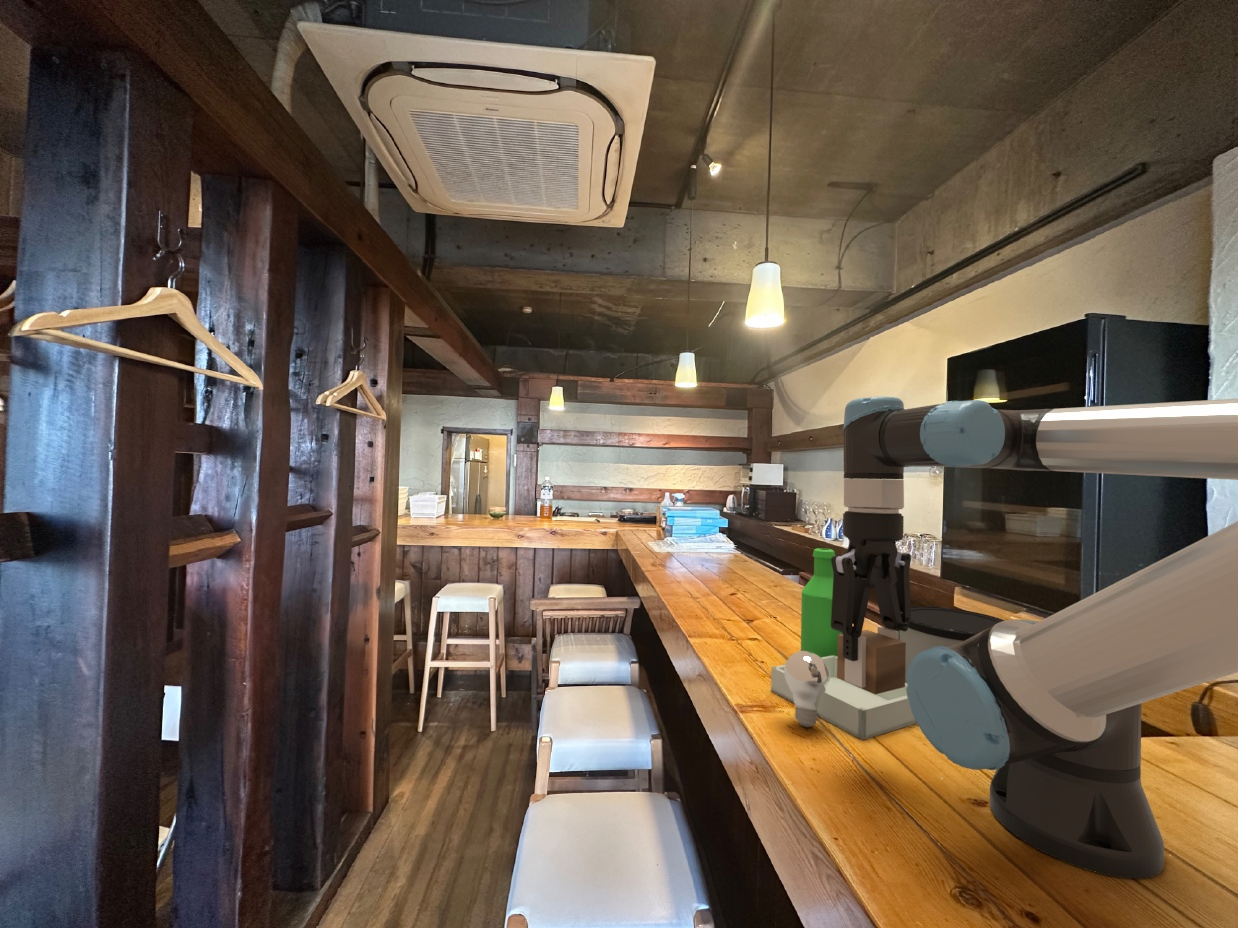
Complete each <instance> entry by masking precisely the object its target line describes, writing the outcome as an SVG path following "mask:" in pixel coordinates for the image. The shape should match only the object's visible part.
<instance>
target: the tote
mask: <svg viewBox="0 0 1238 928" xmlns="http://www.w3.org/2000/svg"><path fill="white" fill-rule="evenodd" d="M821 658H822V659H823V661H824V662H825V663H826V665H827V667H828V670H829V673H830V681H829V685H828V688H827V689H826V691H825V692H824V694H823V695H822V697H821V699H820V702H819V706H818V708H817V717H818V718H820V719H822V720H824V721H826V722H828V723H829V724H831V725H833V726H836V727H837V728H839V729H841V730H842V731H844V732H846V733H848V734H850V735H852V736H853V737H856V738H857V739H859V740H861V741H865V740H867V739H871V738H874V737H877V736H881V735H884V734H886V733H889V732H894V731H896V730H900V729H902V728H907V727H909V726H914V725H916V724H917V722H916V720H915V718H914V716H913V714H912V711H911V708H910V705H909V702H908V698H907V692H906V688H907V687H908V685H907V683H905V687H903V688H899V689H895V690H891V691H887V692H883V693H880V694H876V695H875V694H873V693H871V692H868V691H866V690H864V689H862V688H859V687H857V686H855V685H852V684H850V683H848V682H846V681H843V680H841V679H839V678H837V656H835V655H832V656H827V657H821ZM784 668H785V664H781V665H776V666H772V667H771V671H770V672H771V673H770V674H771V675H770V676H771V680H770V682H771V683H770V684H771V685H770V692H771V693H774V695H778V696H779V697H780V698H782V699H785V700H786V701H789V702H790V703H792V704H794V705H795V703H794V699H793V694H792V692H791V690H790V688H789V686H788V685H787V682H786V680H785V676H784ZM915 723H916V724H915Z"/></svg>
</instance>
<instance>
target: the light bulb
mask: <svg viewBox="0 0 1238 928" xmlns="http://www.w3.org/2000/svg"><path fill="white" fill-rule="evenodd" d="M784 665H785V668H784V676H785V680H786V682H787V685H788V686H789V688H790V690H791V692H792V694H793V699H794V703H795V704H794V703H793V704H794V705H795V709H794V710H795V712H794V714H795V715H794V719H795V720H796V721H797V722H798V724H799V725H801V727H802V728H804V729H810V728H811V727H813V726H814V725H815V724H816V722H817V721H818V718H817V717H818V716H817V708H818V706H819V702H820V699H821V697H822V695H823V694H824V692H825V691H826V689H827V688H828V685H829V681H830V673H829V670H828V667H827V665H826V663H825V662H824V661H823V659H822V658H821V657H819V656H818V655H817V654H815V653H813V652H810V651H801V650H799V651H797V652H794V653H793V654H791V655H790V656H789V657H788V659H787V660H786V662H785V663H784Z"/></svg>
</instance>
